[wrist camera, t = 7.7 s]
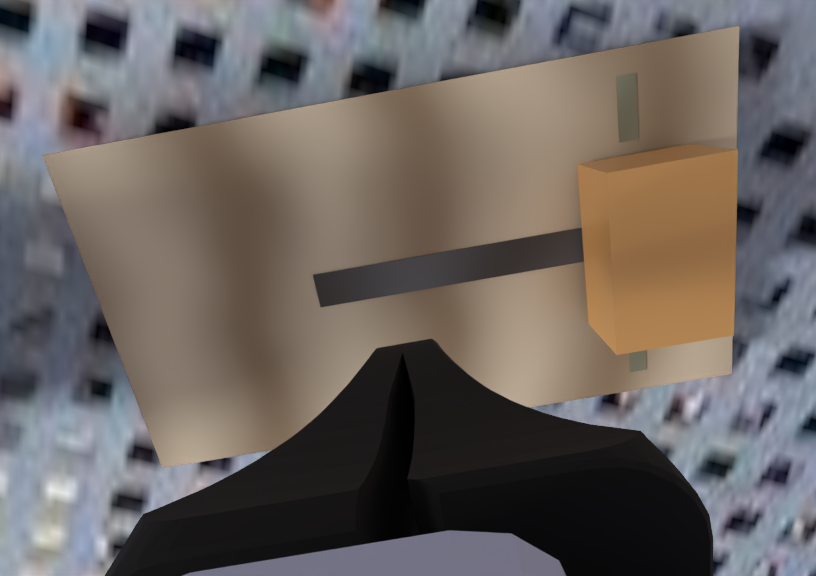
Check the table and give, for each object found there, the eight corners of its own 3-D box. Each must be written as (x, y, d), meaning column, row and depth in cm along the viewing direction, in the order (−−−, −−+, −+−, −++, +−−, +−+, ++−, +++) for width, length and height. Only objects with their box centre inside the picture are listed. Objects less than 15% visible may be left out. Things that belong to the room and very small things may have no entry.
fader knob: (588, 324, 19) (616, 355, 16) (577, 164, 17) (606, 173, 15) (691, 306, 19) (733, 335, 16) (689, 144, 17) (738, 149, 15)
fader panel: (181, 438, 23) (161, 468, 21) (77, 150, 19) (41, 155, 17) (702, 351, 22) (732, 374, 20) (703, 34, 18) (740, 25, 16)
